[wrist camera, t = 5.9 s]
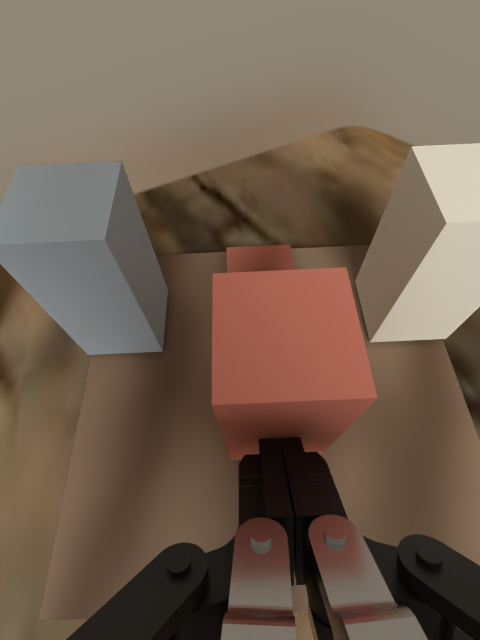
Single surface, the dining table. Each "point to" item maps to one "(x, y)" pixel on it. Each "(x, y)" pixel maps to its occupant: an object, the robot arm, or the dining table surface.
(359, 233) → the dining table surface
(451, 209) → the cream rectangular block
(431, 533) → the brown wooden board
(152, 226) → the dining table surface
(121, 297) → the grey rectangular block
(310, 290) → the red rectangular block
